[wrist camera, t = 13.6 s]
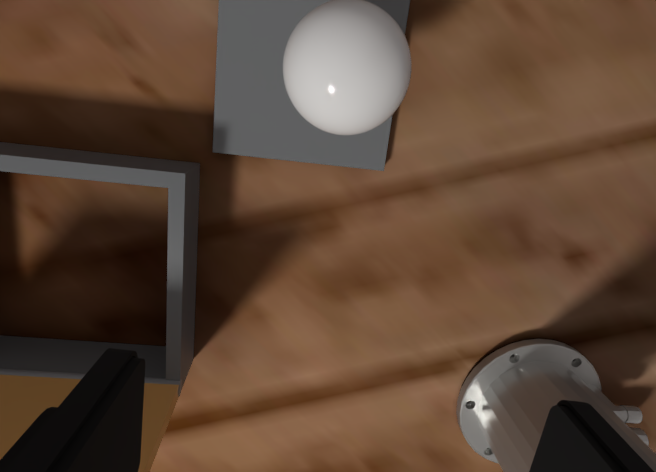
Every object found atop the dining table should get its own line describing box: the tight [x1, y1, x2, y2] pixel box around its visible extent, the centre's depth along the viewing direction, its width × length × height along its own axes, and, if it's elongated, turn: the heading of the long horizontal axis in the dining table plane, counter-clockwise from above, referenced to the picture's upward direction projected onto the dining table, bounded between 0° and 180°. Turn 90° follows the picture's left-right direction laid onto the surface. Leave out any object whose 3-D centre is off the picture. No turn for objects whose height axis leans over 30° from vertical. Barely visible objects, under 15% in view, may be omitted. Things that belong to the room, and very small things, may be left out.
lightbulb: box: [283, 0, 411, 135], centre depth 25 cm, size 6×6×11 cm
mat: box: [213, 0, 410, 171], centre depth 30 cm, size 12×12×1 cm
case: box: [0, 142, 200, 472], centre depth 27 cm, size 16×16×14 cm
